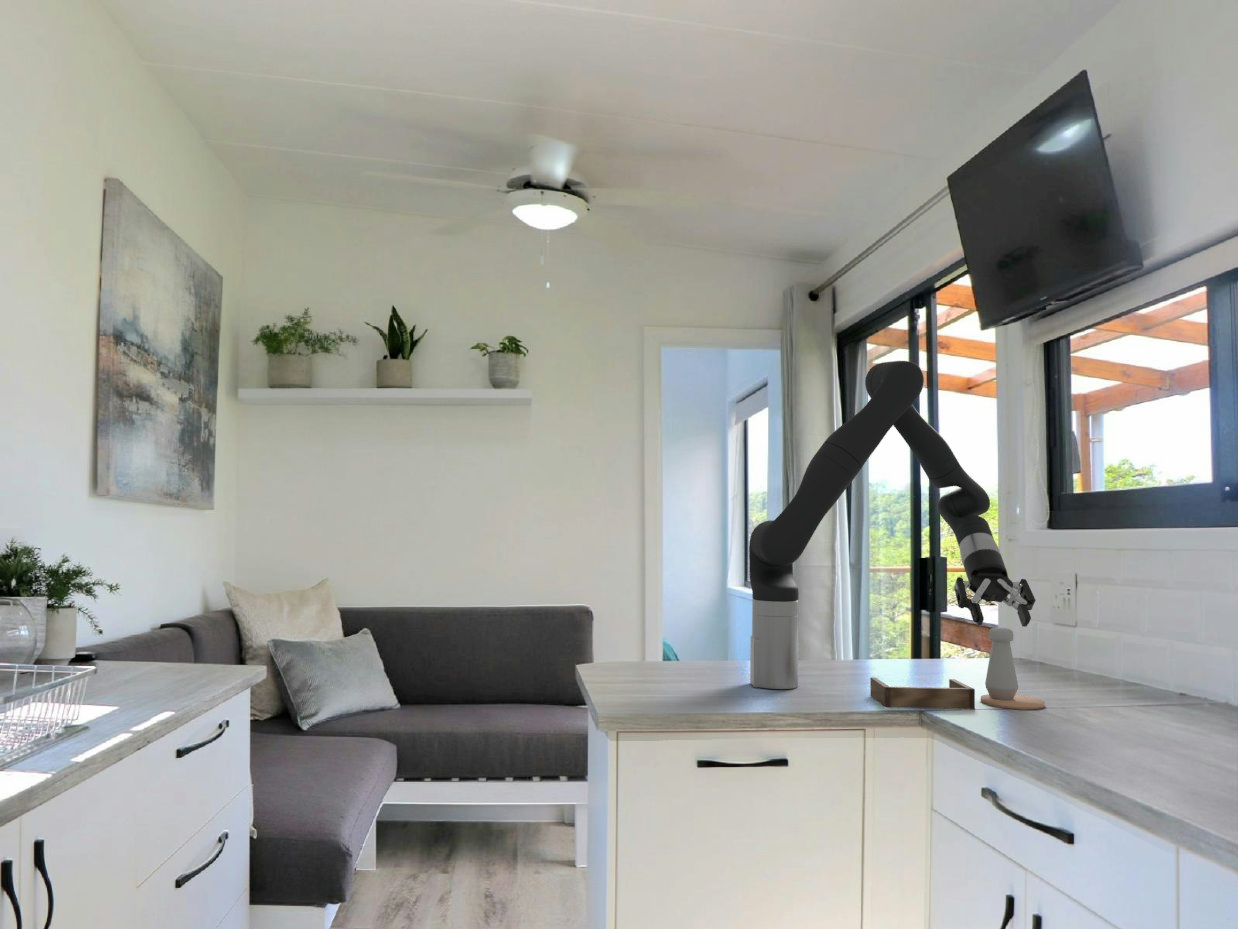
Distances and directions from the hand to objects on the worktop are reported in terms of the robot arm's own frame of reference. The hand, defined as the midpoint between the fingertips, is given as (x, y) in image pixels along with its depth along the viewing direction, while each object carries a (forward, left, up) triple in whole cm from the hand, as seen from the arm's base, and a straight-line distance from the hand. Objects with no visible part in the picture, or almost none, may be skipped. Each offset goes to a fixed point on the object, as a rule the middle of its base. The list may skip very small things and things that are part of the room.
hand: (1003, 623), depth 181 cm
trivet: (0, -4, -14) cm, 15 cm away
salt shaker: (-1, -3, -14) cm, 14 cm away
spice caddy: (-17, -4, -14) cm, 23 cm away
